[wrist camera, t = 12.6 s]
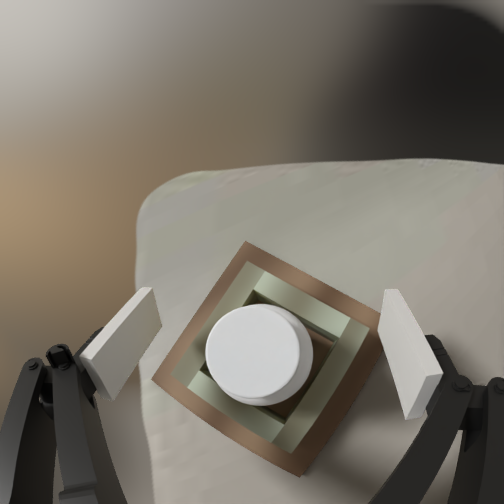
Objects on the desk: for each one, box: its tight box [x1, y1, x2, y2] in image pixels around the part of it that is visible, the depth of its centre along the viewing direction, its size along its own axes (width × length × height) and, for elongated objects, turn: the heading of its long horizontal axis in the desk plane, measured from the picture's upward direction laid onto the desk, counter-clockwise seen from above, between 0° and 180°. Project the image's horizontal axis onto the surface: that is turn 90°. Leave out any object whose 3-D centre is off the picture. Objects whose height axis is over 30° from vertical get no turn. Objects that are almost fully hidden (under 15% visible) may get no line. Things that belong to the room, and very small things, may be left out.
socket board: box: [151, 241, 383, 477], centre depth 19 cm, size 14×14×4 cm
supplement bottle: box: [206, 304, 313, 406], centre depth 16 cm, size 5×5×10 cm
